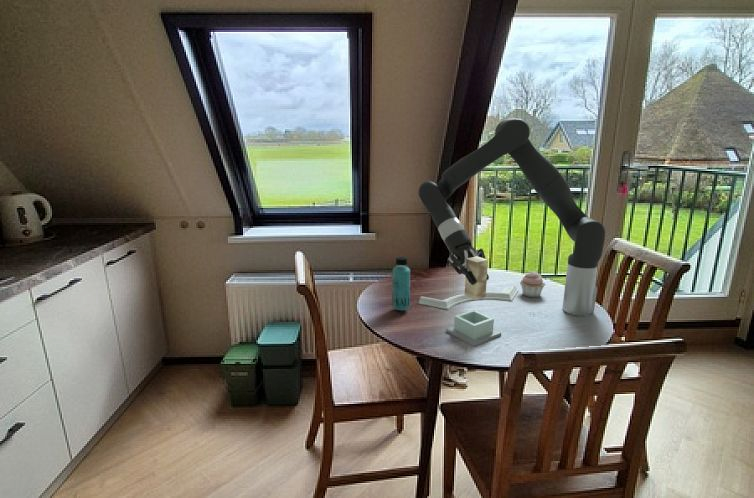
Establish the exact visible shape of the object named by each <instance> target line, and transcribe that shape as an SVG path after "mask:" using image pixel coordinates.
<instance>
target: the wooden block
mask: <svg viewBox="0 0 754 498" xmlns="http://www.w3.org/2000/svg"><path fill="white" fill-rule="evenodd" d="M467 261H468V265H469V267H470V271H472V273H473V275H474V277H475V278H476V280H477V283H475V284H474V285H471V284H470V283H469V281H468V279H467V278H466V276H465V275H464V278H465V281H464V294H465V295H464V296H467V297H469V298H471V299H474V300H473V301H478V300H477V299H481V298H484V297H486V292H487V281H488V280H487V274H488V264H489V260H488V259H487V258H486V259H484V258H481V257H478V256H475V257H471V258H467Z"/></svg>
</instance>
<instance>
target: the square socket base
mask: <svg viewBox="0 0 754 498" xmlns="http://www.w3.org/2000/svg"><path fill="white" fill-rule="evenodd" d="M494 322H495V318H492V317H490V316H489V315H486V314H485V313H482V312H479V311H477V310H476V309H472V310H469V311H467V312H466V311H465V312H463V313H459V314H457V315H454V321H453V324H454V325H452V326H449V327H446V328H445V331H446V332H447V333H449V334H450V335H452V336H454V337H456V338H458V339H460V340H461V341H464V343H467V344H469V345H470V346H472V347H477V346H479V345H481V344H483V343H486V342H489V341H491V340H494V339H496V338H499V337H501V336H502V332H501V331H499V330H496V329H494V326H495V325H494Z"/></svg>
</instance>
